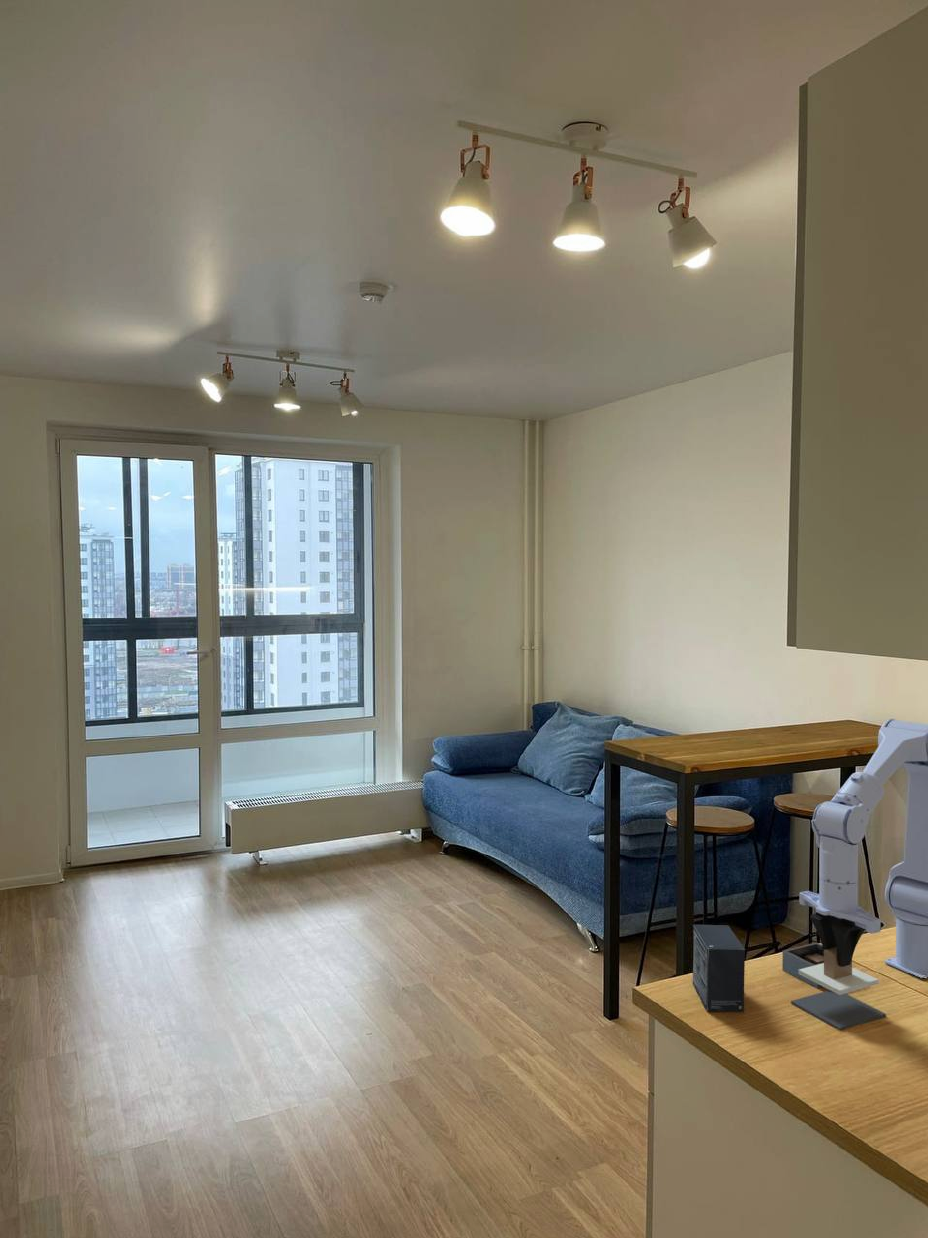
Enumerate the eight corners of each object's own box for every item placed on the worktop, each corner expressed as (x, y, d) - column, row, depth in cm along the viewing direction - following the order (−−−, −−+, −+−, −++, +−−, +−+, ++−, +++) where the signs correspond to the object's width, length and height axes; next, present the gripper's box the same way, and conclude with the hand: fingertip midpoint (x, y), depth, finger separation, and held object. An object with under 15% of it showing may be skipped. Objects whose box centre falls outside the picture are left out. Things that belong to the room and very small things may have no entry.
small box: (747, 1012, 147) (747, 948, 147) (706, 1012, 147) (706, 948, 147) (729, 983, 158) (729, 923, 157) (691, 983, 158) (691, 923, 157)
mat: (835, 990, 154) (835, 988, 154) (885, 1016, 145) (885, 1013, 145) (790, 1003, 150) (790, 1000, 150) (839, 1030, 141) (839, 1027, 141)
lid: (836, 967, 153) (836, 935, 153) (878, 987, 146) (878, 954, 145) (798, 977, 150) (798, 945, 149) (839, 998, 142) (839, 964, 142)
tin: (815, 961, 166) (816, 942, 166) (851, 978, 159) (852, 958, 159) (782, 969, 163) (782, 950, 162) (817, 988, 155) (817, 967, 155)
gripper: (785, 868, 152) (785, 949, 152) (857, 896, 138) (856, 984, 139) (817, 862, 155) (816, 942, 155) (890, 888, 141) (889, 975, 142)
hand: (837, 961), depth 147 cm, fingers closed on lid
